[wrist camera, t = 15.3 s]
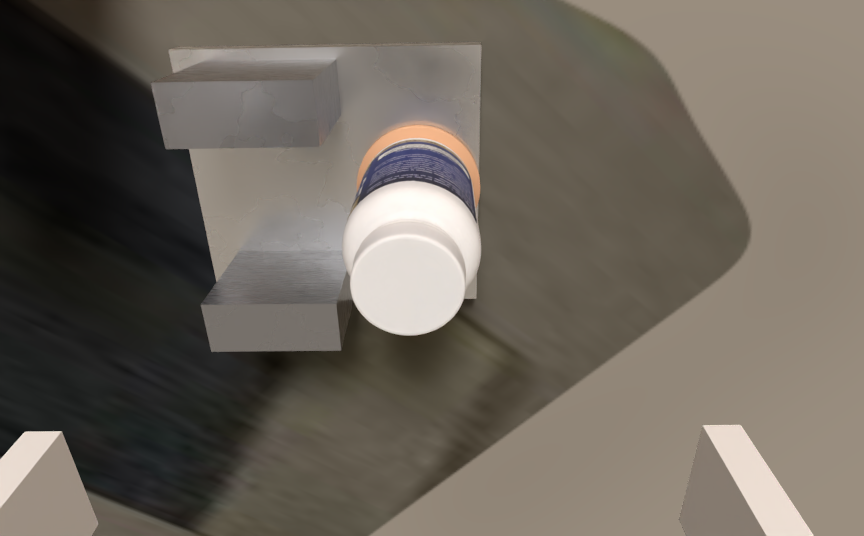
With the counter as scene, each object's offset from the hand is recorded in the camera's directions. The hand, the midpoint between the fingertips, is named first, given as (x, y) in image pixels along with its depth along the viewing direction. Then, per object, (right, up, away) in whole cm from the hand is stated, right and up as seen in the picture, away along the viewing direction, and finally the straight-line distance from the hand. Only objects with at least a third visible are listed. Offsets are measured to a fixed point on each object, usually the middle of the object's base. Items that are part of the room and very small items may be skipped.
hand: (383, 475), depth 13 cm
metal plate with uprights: (-4, +9, +18) cm, 20 cm away
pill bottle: (0, +8, +16) cm, 18 cm away
